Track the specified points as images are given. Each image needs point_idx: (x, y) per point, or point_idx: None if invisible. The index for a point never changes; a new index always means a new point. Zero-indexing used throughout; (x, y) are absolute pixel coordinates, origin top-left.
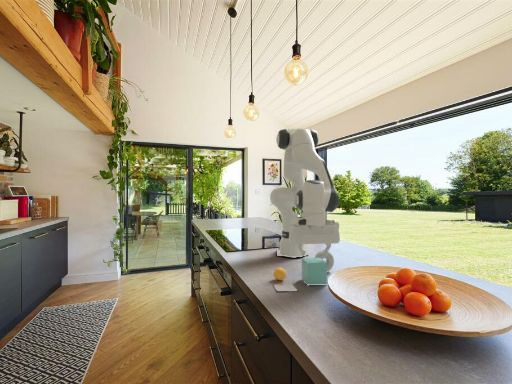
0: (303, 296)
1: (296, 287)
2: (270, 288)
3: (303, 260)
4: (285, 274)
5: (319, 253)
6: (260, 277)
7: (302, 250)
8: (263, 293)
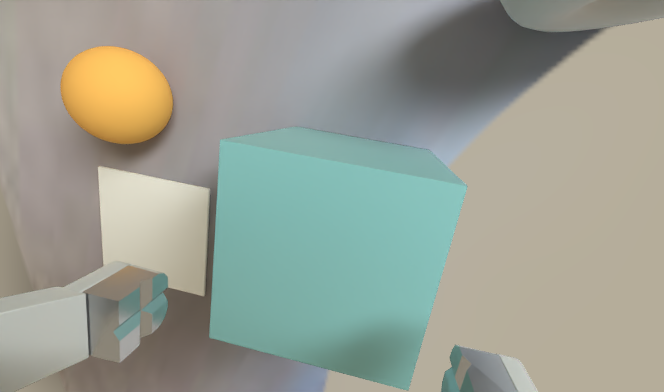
0: (209, 345)
1: (214, 241)
2: (85, 211)
3: (222, 203)
4: (150, 133)
5: None
6: (42, 4)
7: (66, 360)
8: (50, 257)
